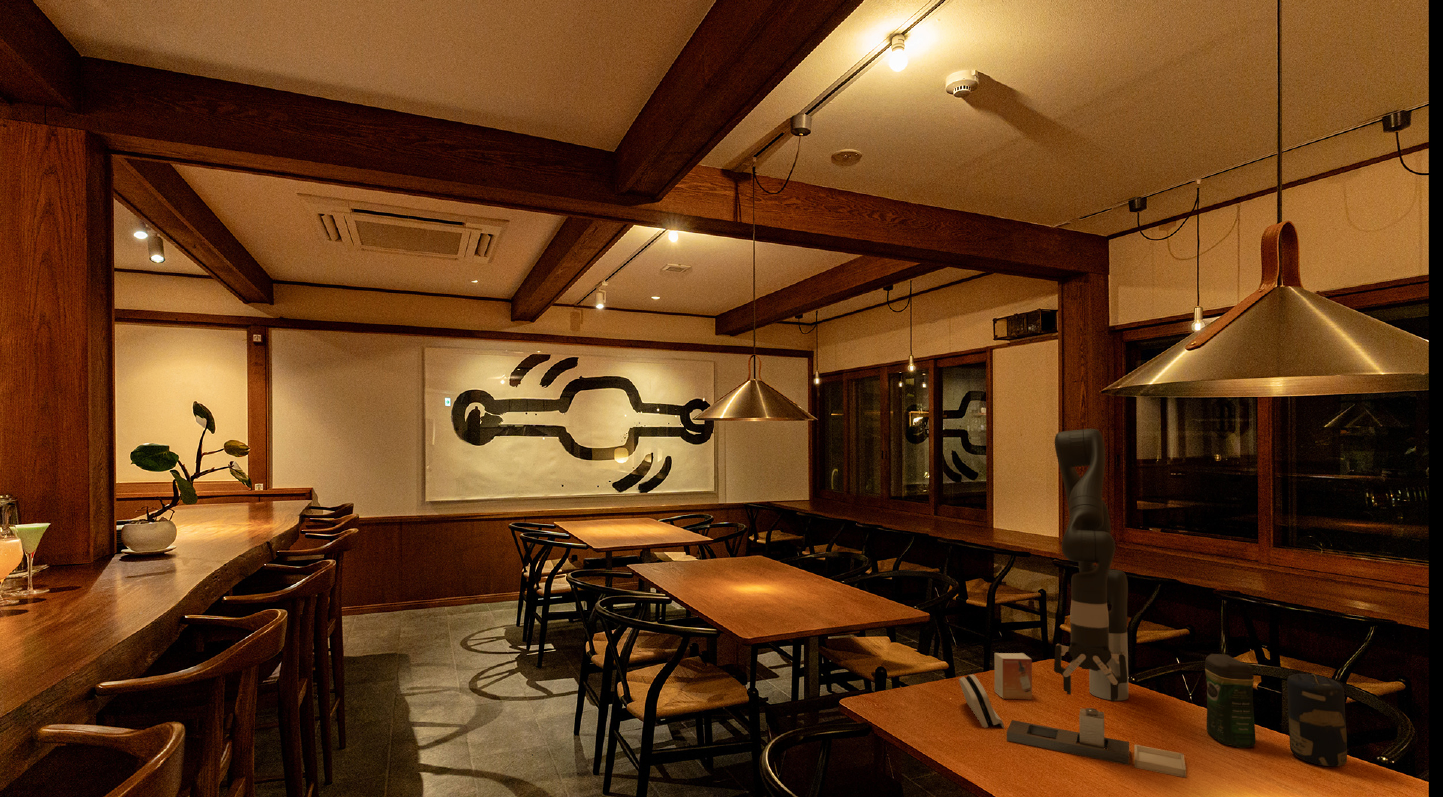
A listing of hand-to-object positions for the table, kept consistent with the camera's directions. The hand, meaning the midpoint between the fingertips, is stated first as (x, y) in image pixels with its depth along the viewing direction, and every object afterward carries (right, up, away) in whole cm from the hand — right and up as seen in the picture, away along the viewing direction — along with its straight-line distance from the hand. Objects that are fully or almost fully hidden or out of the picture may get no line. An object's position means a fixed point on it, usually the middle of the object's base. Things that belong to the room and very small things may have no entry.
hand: (1090, 697), depth 158 cm
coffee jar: (+35, -12, +6) cm, 38 cm away
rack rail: (-4, -12, +2) cm, 12 cm away
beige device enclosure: (-17, -13, +20) cm, 29 cm away
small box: (-3, -14, +34) cm, 36 cm away
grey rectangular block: (0, -12, -1) cm, 12 cm away
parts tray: (+11, -11, -7) cm, 17 cm away
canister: (+47, -12, -4) cm, 48 cm away
